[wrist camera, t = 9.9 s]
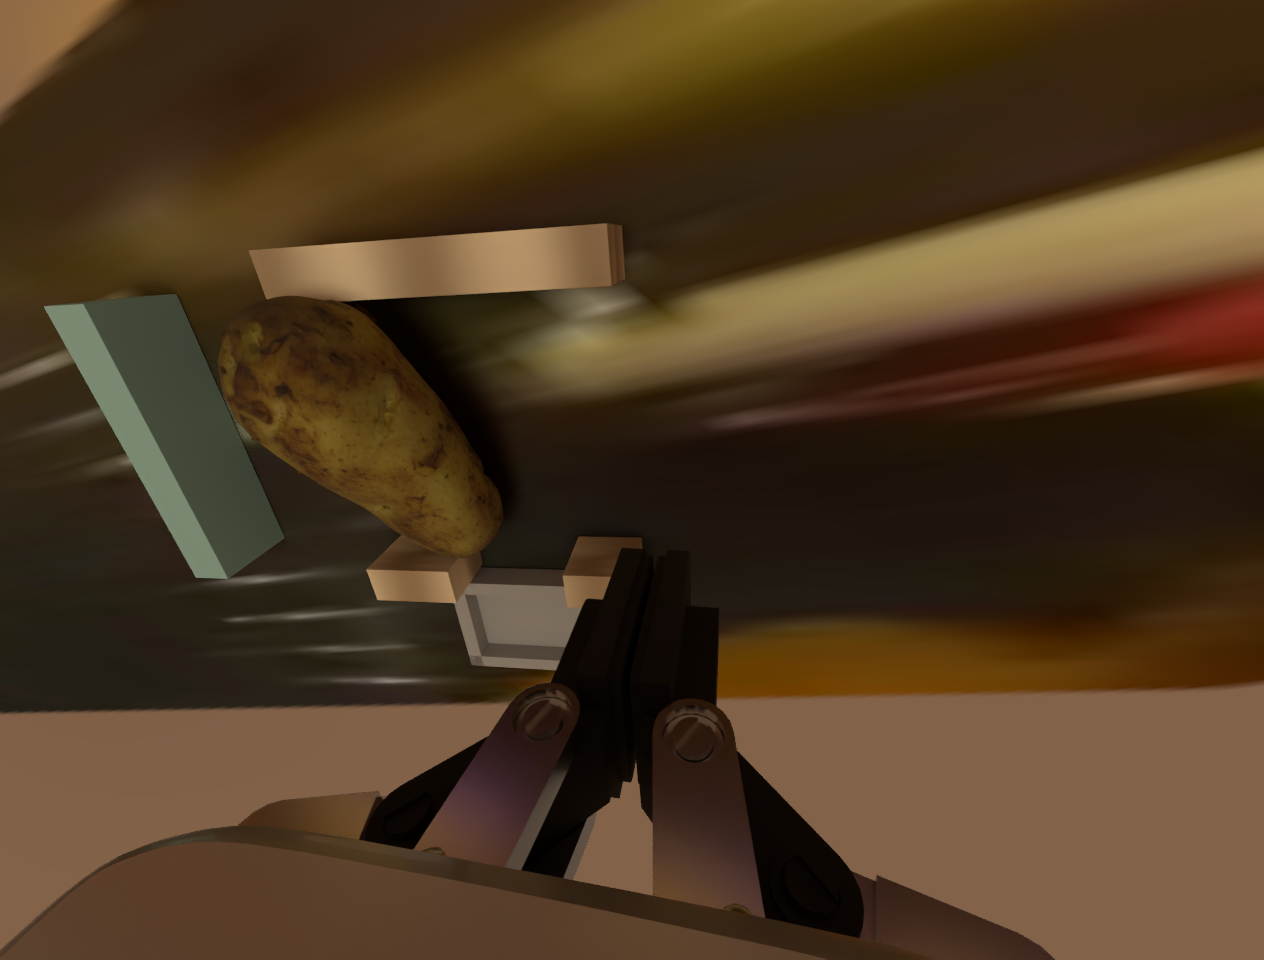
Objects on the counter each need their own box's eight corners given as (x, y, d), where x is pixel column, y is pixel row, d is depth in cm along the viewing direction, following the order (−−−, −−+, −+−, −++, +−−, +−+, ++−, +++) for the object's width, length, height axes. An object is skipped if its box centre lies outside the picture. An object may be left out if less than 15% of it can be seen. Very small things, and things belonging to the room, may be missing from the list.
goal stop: (176, 293, 24) (83, 303, 20) (284, 537, 30) (228, 578, 26) (141, 296, 24) (43, 306, 20) (256, 537, 30) (196, 577, 26)
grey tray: (609, 571, 28) (604, 588, 26) (617, 654, 30) (613, 673, 29) (460, 566, 29) (448, 582, 28) (481, 647, 32) (471, 665, 30)
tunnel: (621, 225, 20) (606, 223, 17) (643, 567, 27) (635, 610, 24) (313, 248, 22) (248, 250, 19) (412, 561, 29) (377, 599, 26)
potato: (390, 525, 28) (285, 622, 21) (307, 289, 23) (127, 313, 16) (527, 525, 27) (464, 627, 20) (475, 274, 21) (361, 292, 14)
